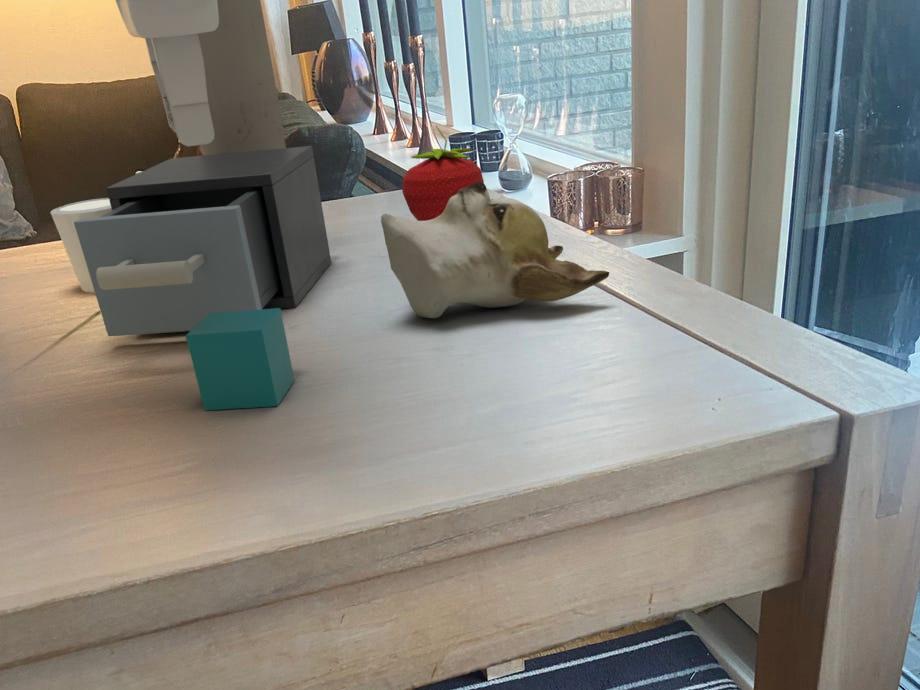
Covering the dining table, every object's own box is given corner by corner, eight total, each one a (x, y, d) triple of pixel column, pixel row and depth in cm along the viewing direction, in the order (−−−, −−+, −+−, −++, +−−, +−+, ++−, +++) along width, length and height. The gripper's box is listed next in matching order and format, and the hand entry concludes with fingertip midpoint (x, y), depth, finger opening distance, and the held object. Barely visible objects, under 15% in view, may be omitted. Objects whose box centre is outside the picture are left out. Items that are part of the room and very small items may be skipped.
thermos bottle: (214, 263, 91) (127, -107, 76) (235, 244, 98) (159, -99, 82) (295, 256, 91) (225, -118, 75) (311, 238, 97) (250, -110, 81)
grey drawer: (242, 346, 64) (214, 222, 60) (81, 357, 65) (42, 237, 61) (301, 278, 79) (282, 175, 75) (169, 288, 80) (143, 187, 76)
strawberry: (399, 252, 88) (383, 131, 83) (471, 237, 91) (460, 118, 85) (426, 262, 84) (411, 135, 78) (501, 246, 86) (492, 122, 81)
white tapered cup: (63, 292, 86) (36, 209, 83) (131, 274, 90) (109, 194, 86) (98, 302, 82) (71, 215, 78) (168, 282, 86) (146, 198, 82)
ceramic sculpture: (364, 178, 68) (561, 164, 72) (374, 302, 73) (558, 284, 76) (395, 201, 60) (617, 184, 63) (405, 341, 64) (610, 318, 68)
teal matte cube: (204, 411, 57) (185, 335, 54) (226, 384, 61) (208, 313, 58) (277, 406, 57) (261, 330, 54) (294, 380, 60) (280, 307, 58)
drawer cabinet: (295, 307, 75) (270, 173, 70) (142, 318, 76) (105, 187, 71) (331, 263, 87) (312, 145, 82) (198, 273, 88) (170, 158, 83)
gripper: (203, -267, 35) (279, 149, 43) (172, -172, 52) (231, 117, 59) (24, -260, 34) (136, 168, 42) (51, -165, 50) (128, 130, 58)
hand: (192, 138), depth 51 cm, fingers open, 5 cm apart
